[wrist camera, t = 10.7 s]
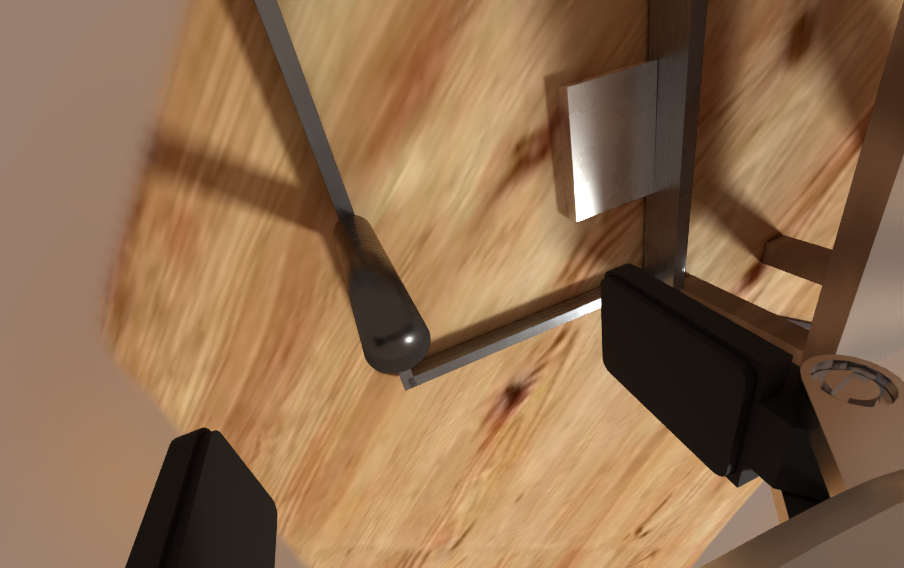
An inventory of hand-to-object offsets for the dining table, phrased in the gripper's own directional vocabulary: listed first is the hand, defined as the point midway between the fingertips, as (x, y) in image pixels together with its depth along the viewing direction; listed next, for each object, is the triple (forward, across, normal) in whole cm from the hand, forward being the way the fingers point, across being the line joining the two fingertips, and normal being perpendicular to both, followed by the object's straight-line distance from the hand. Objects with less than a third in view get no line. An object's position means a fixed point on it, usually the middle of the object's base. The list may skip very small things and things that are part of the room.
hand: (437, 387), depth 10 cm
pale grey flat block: (+16, -16, +1) cm, 22 cm away
